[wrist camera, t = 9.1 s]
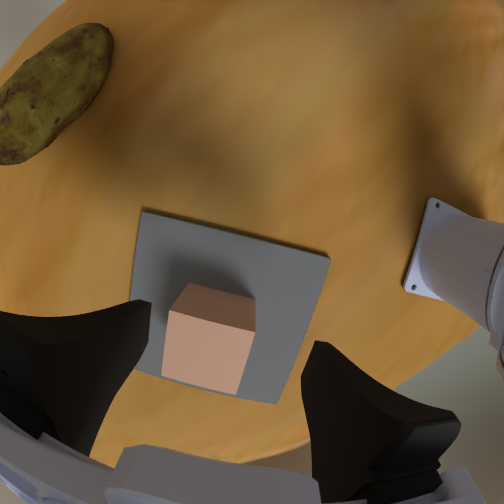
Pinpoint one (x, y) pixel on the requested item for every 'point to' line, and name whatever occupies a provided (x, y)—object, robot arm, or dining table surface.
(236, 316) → the cube
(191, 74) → the dining table surface
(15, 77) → the potato
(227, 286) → the mat
